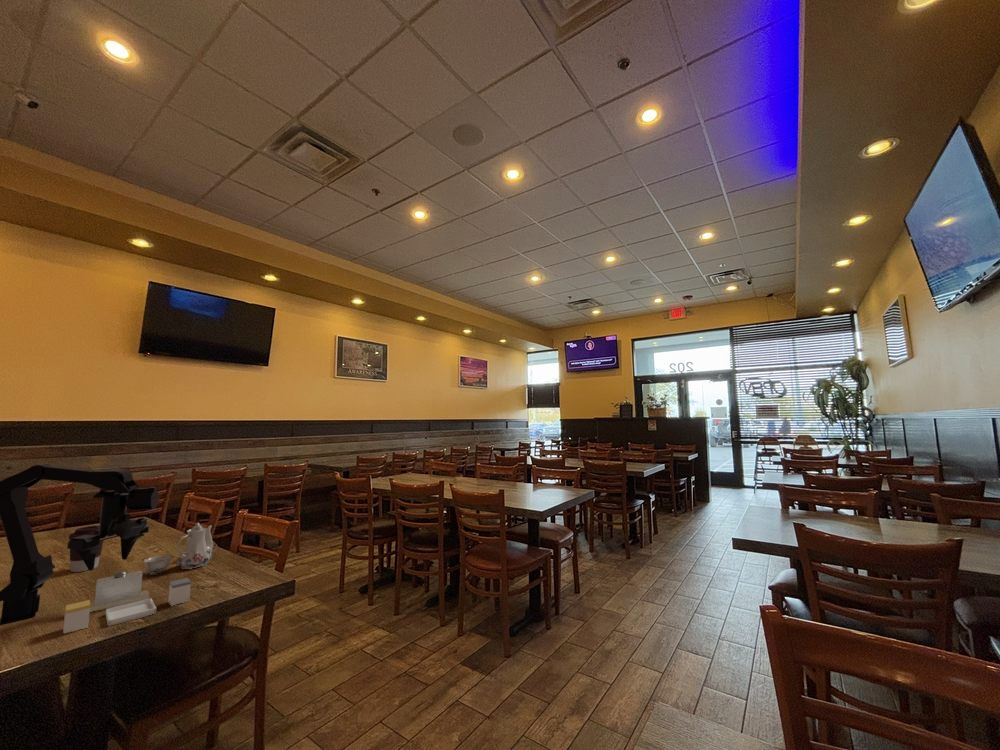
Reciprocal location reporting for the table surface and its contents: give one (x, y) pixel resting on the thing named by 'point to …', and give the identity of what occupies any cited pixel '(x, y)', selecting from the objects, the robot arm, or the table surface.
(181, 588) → the grey cartridge
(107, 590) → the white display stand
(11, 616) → the robot arm
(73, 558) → the coffee cup
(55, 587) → the table surface
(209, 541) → the chinaware
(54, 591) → the table surface
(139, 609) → the tray
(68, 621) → the amber cartridge
